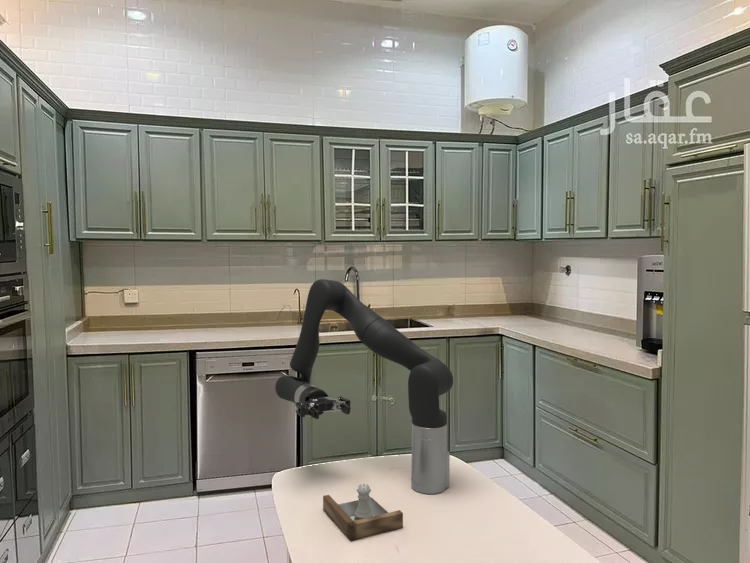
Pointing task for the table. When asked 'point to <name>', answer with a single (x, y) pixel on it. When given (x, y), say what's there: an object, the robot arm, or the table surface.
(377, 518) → the corner arena
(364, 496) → the rook chess piece
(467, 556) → the table surface
